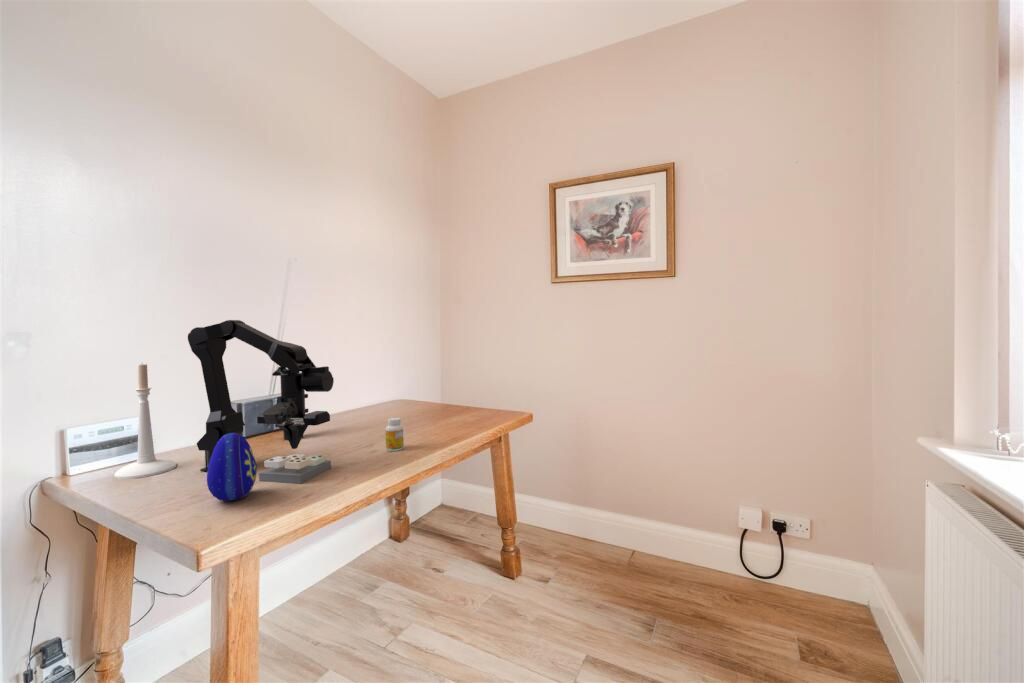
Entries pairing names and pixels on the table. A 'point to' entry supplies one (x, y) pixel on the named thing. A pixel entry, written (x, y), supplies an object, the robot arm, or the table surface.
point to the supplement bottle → (394, 435)
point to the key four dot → (297, 463)
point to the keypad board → (293, 473)
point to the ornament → (231, 468)
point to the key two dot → (276, 462)
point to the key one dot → (297, 456)
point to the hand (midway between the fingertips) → (294, 448)
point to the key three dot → (316, 460)
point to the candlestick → (144, 438)
